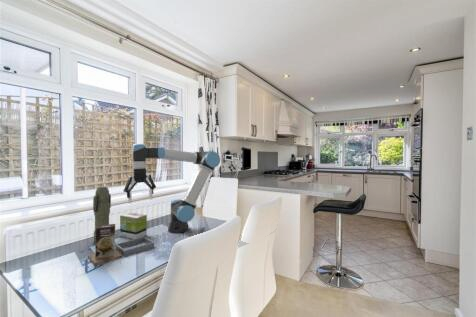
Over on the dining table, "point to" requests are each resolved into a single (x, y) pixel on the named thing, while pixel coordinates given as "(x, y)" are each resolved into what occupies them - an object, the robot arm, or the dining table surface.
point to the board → (105, 259)
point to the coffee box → (105, 241)
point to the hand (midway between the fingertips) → (140, 201)
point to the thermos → (101, 207)
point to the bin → (120, 247)
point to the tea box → (133, 225)
